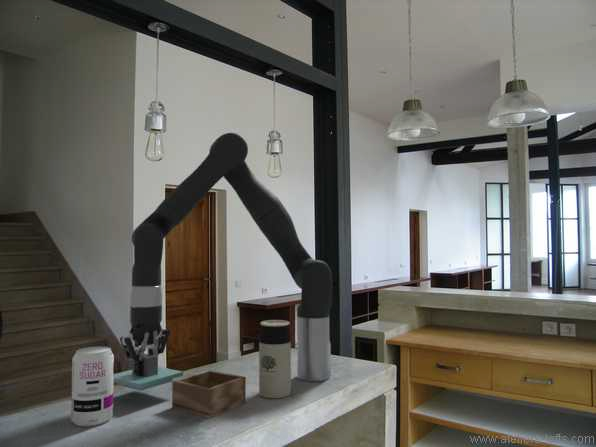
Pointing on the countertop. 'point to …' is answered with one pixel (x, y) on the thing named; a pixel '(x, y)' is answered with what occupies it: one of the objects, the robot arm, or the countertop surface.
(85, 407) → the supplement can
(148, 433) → the countertop surface
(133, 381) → the lid
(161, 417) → the countertop surface
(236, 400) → the box
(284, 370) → the travel mug
